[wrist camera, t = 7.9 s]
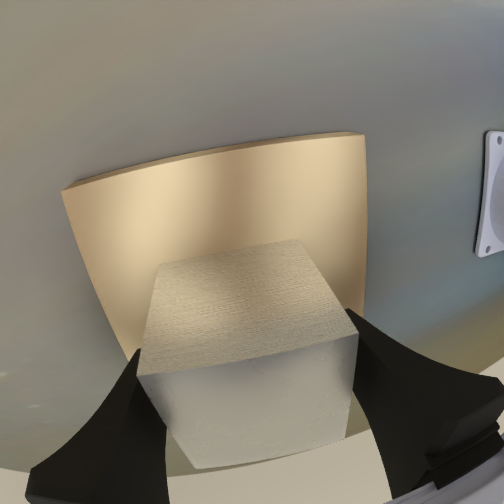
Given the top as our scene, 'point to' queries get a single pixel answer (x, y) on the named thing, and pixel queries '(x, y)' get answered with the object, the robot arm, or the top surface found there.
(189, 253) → the tan square panel
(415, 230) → the top surface
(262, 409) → the wood-grain grey cube
